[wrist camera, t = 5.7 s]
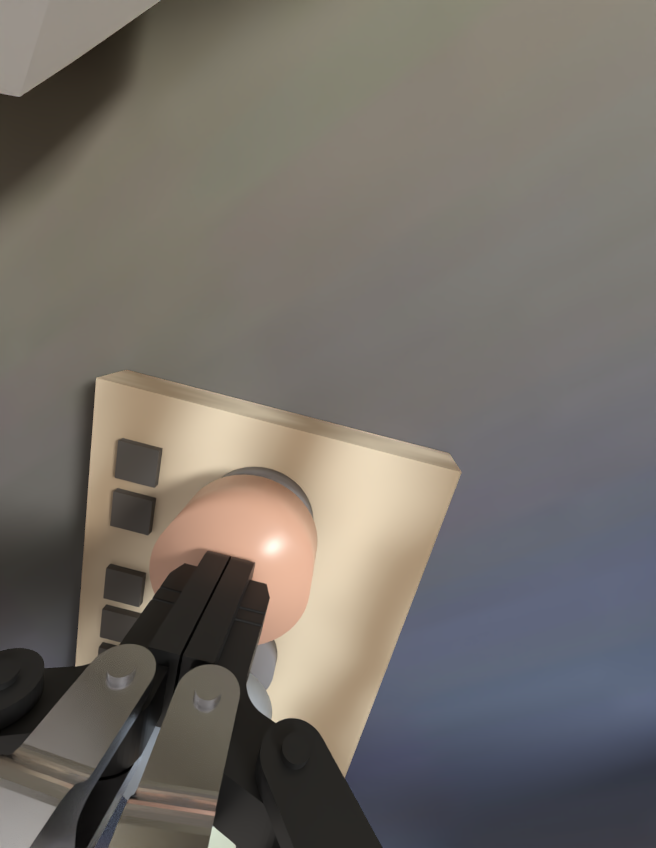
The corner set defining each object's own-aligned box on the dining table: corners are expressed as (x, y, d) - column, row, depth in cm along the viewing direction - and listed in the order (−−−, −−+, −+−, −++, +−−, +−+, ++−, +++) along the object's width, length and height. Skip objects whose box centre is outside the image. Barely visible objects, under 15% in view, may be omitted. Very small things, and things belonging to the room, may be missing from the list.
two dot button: (332, 495, 13) (327, 532, 11) (300, 608, 15) (290, 663, 13) (192, 458, 13) (159, 489, 11) (174, 576, 15) (141, 625, 13)
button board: (449, 453, 16) (467, 481, 14) (324, 793, 23) (320, 858, 20) (126, 369, 16) (81, 381, 14) (91, 734, 23) (56, 791, 20)
